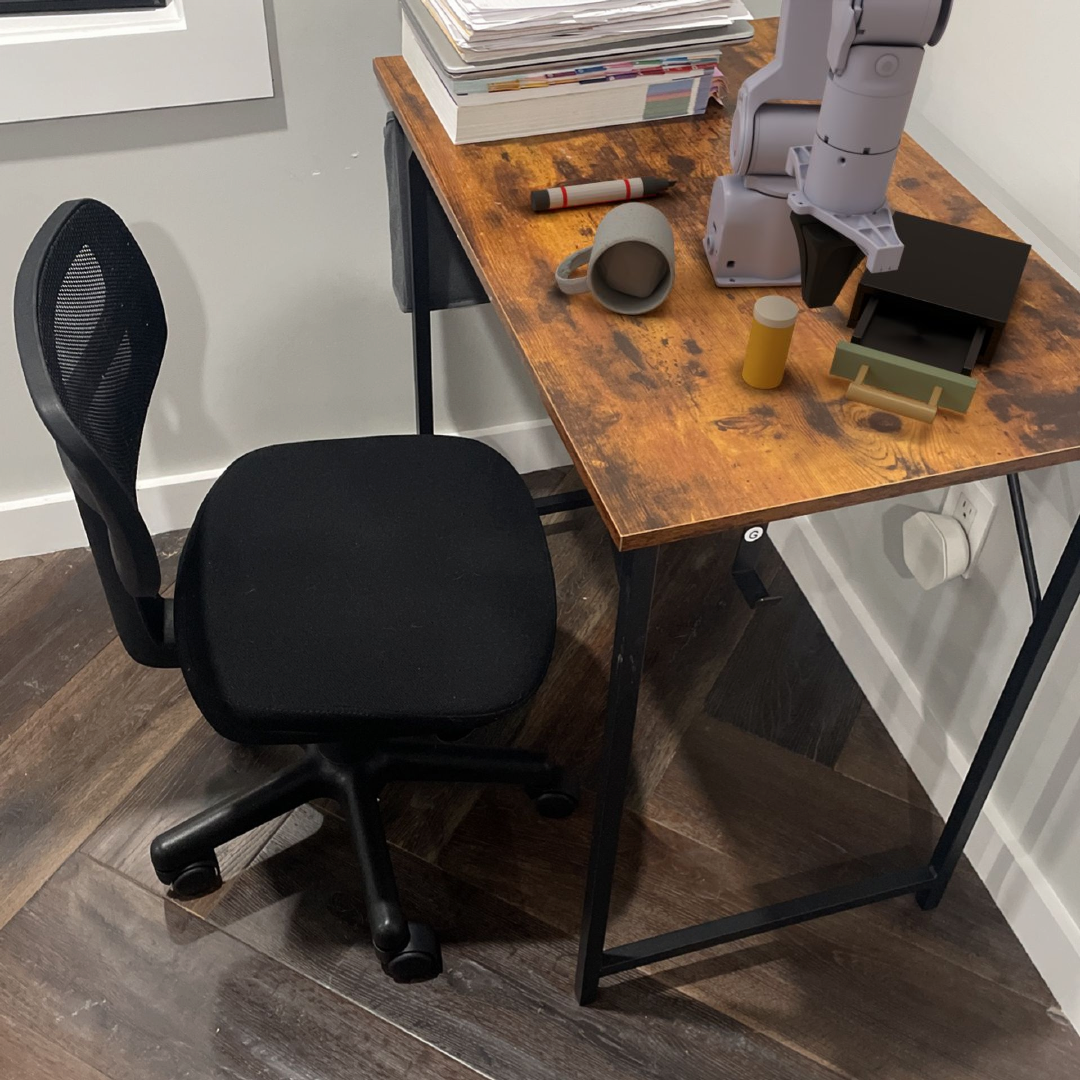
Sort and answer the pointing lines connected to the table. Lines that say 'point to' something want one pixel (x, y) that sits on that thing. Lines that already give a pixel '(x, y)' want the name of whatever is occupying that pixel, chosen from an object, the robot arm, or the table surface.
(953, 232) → the cabinet
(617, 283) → the ceramic mug
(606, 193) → the marker
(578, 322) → the table surface
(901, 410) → the drawer
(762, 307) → the pill bottle
